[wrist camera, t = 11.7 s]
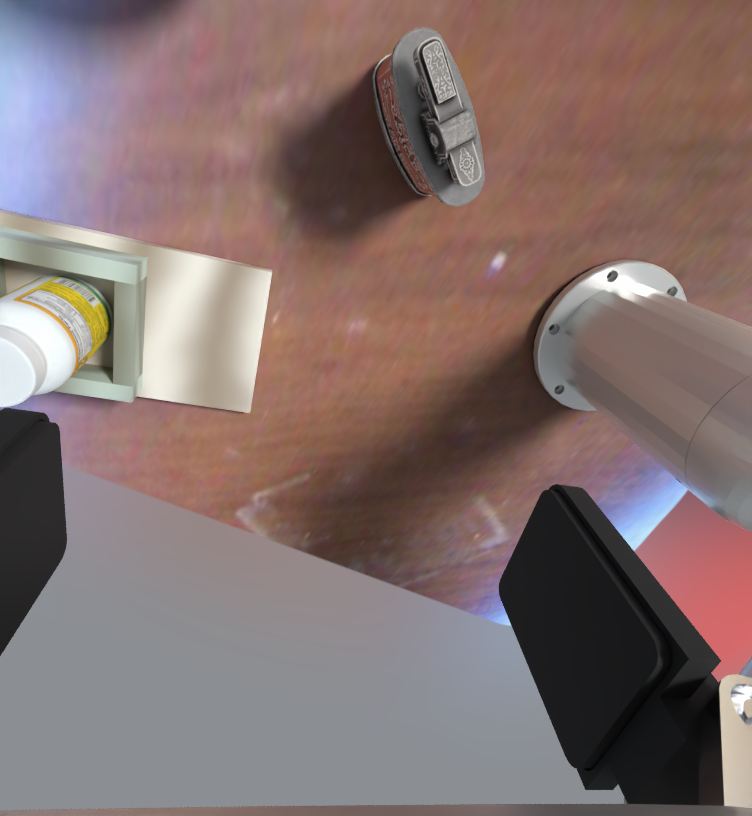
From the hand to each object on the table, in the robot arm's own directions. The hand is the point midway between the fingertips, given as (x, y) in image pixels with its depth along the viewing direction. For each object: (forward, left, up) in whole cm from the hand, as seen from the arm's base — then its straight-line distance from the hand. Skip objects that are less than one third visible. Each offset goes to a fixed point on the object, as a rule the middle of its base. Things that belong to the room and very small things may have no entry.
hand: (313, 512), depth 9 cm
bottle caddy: (+11, +7, -27) cm, 30 cm away
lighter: (-5, -9, -27) cm, 29 cm away
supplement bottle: (+14, +7, -26) cm, 30 cm away
